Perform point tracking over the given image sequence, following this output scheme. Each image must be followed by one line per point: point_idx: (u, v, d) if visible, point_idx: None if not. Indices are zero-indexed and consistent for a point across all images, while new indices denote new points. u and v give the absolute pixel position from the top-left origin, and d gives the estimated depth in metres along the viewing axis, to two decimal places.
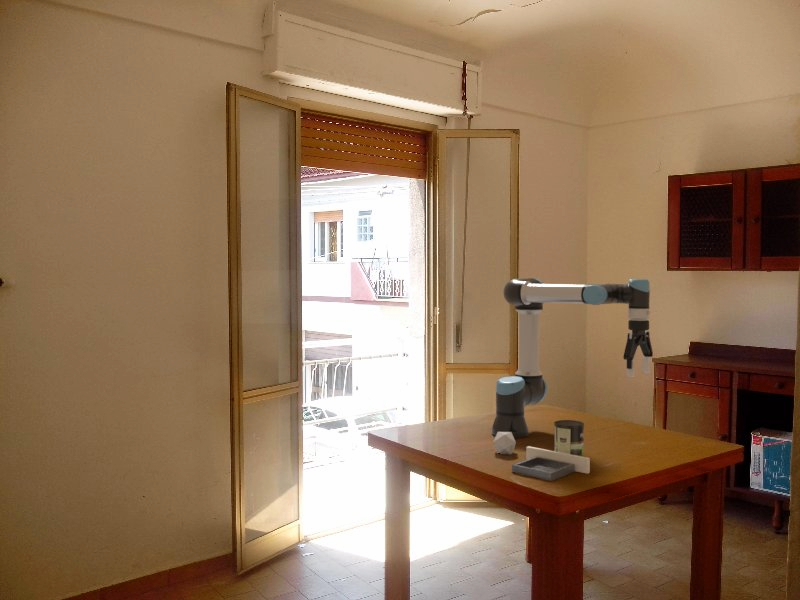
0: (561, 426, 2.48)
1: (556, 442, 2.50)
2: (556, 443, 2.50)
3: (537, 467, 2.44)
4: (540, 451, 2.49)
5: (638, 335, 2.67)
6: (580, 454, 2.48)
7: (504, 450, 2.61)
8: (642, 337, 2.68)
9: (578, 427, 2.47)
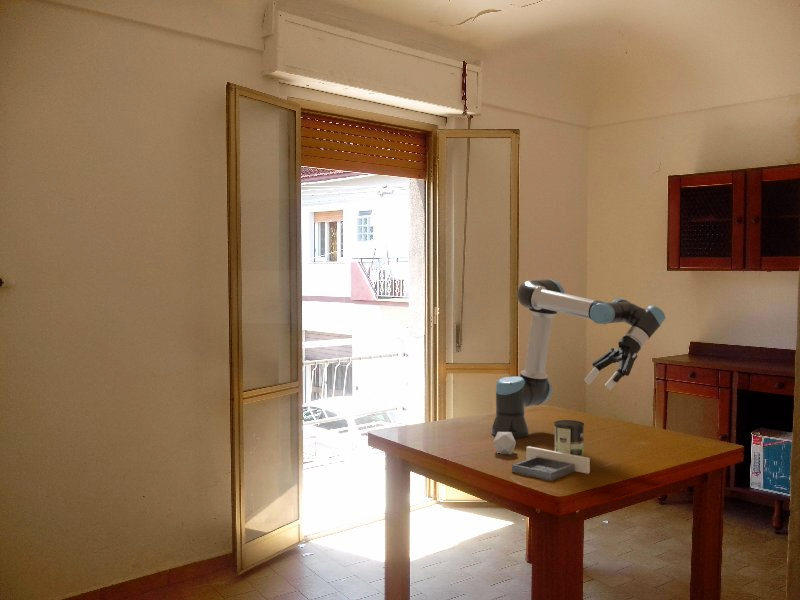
0: (561, 426, 2.48)
1: (556, 442, 2.50)
2: (556, 443, 2.50)
3: (537, 467, 2.44)
4: (540, 451, 2.49)
5: None
6: (580, 454, 2.48)
7: (504, 450, 2.61)
8: None
9: (578, 427, 2.47)
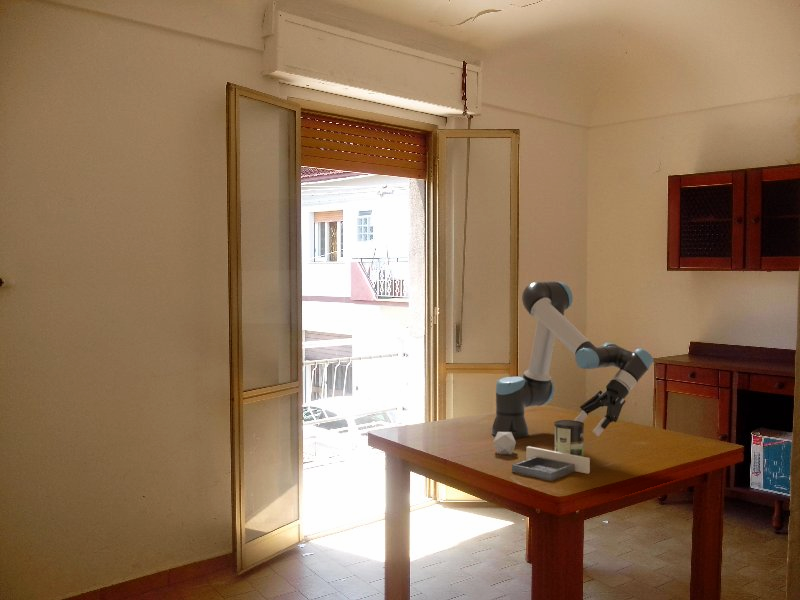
0: (561, 426, 2.48)
1: (556, 442, 2.50)
2: (556, 443, 2.50)
3: (537, 467, 2.44)
4: (540, 451, 2.49)
5: None
6: (580, 454, 2.48)
7: (504, 450, 2.61)
8: None
9: (578, 427, 2.47)
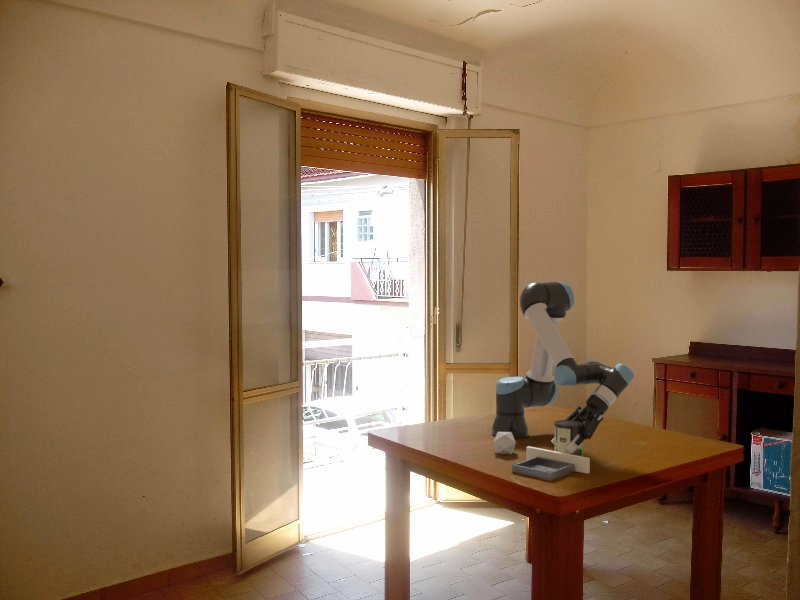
0: (561, 426, 2.48)
1: (556, 442, 2.50)
2: (556, 443, 2.50)
3: (537, 467, 2.44)
4: (540, 451, 2.49)
5: None
6: (580, 454, 2.48)
7: (504, 450, 2.61)
8: None
9: (578, 427, 2.47)
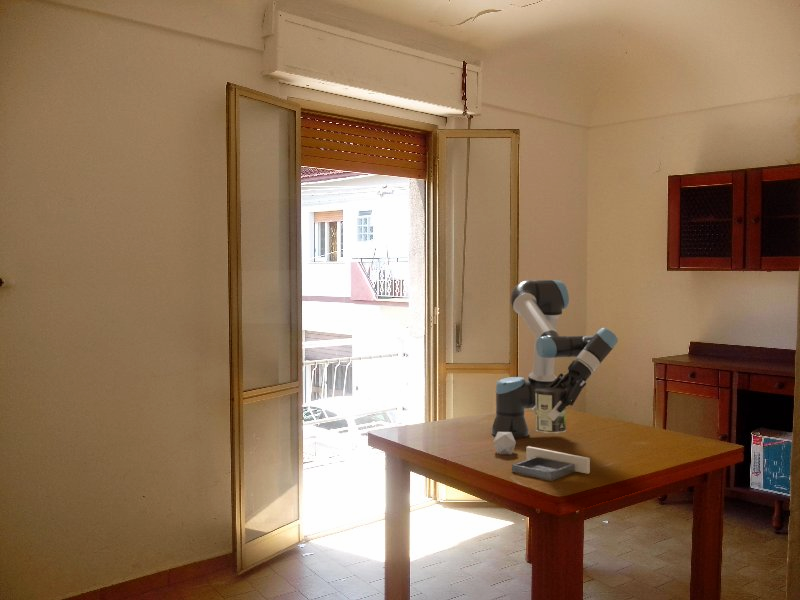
0: (542, 392, 2.36)
1: (537, 410, 2.39)
2: (537, 411, 2.39)
3: (537, 467, 2.44)
4: (540, 451, 2.49)
5: None
6: (562, 422, 2.36)
7: (504, 450, 2.61)
8: None
9: (560, 393, 2.35)
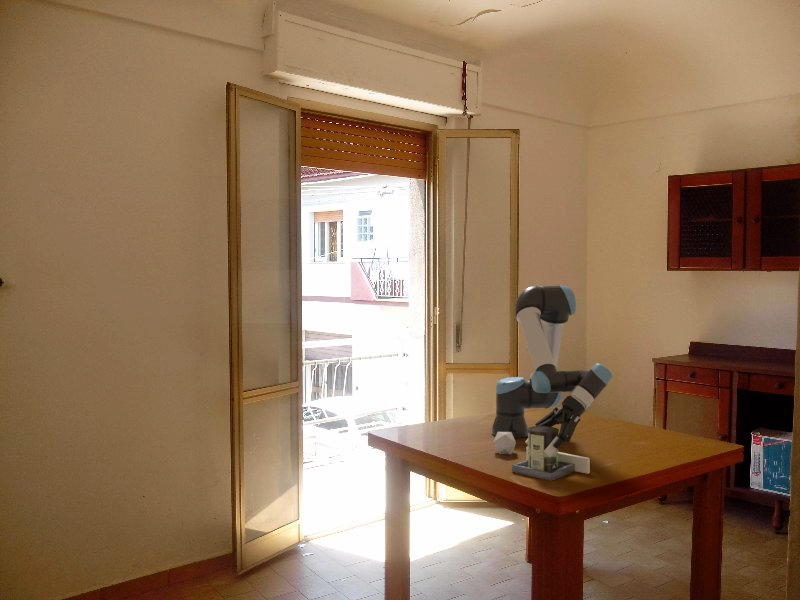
0: (534, 433, 2.36)
1: (529, 449, 2.38)
2: (529, 450, 2.38)
3: None
4: None
5: None
6: (554, 462, 2.36)
7: (504, 450, 2.61)
8: None
9: (552, 434, 2.35)
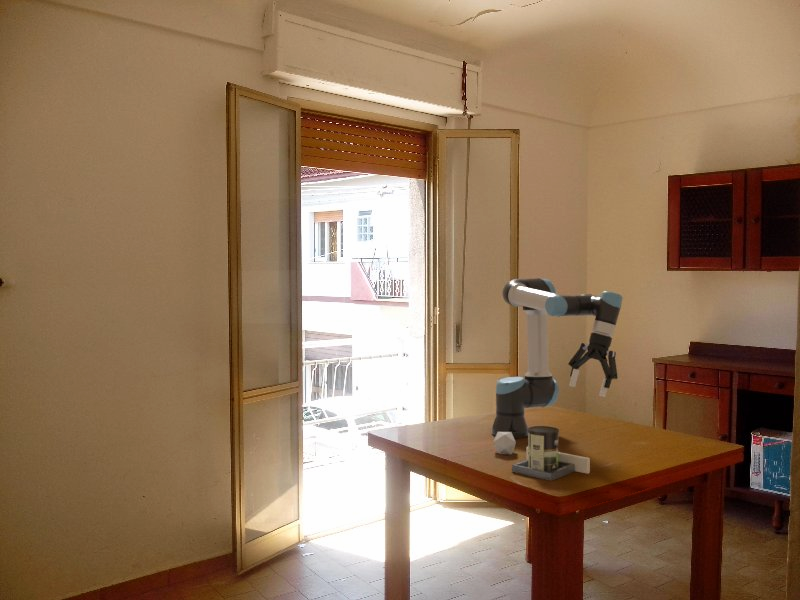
0: (534, 433, 2.36)
1: (529, 449, 2.38)
2: (529, 450, 2.38)
3: None
4: None
5: None
6: (554, 462, 2.36)
7: (504, 450, 2.61)
8: None
9: (552, 434, 2.35)
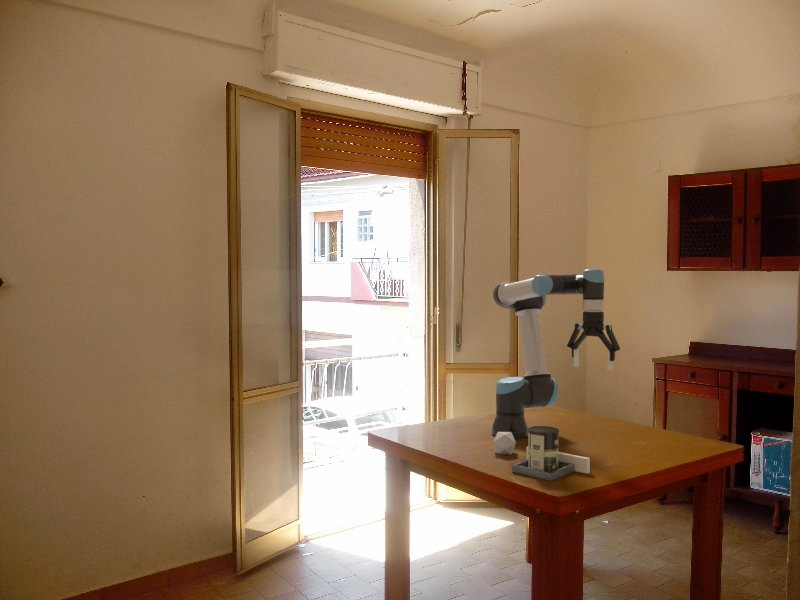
0: (534, 432, 2.36)
1: (529, 449, 2.38)
2: (529, 450, 2.38)
3: None
4: None
5: None
6: (554, 462, 2.36)
7: (504, 450, 2.61)
8: None
9: (552, 434, 2.35)
